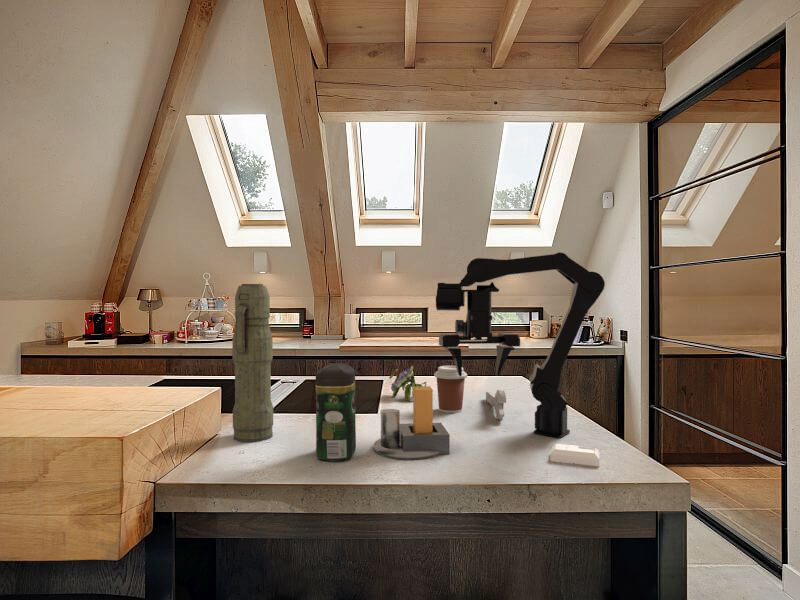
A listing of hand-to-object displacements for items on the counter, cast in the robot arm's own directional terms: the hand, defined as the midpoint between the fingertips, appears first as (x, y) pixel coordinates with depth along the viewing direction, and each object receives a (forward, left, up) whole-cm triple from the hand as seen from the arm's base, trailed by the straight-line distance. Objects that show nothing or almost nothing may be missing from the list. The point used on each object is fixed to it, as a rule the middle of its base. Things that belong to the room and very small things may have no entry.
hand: (478, 375), depth 123 cm
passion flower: (+36, -18, -13) cm, 42 cm away
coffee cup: (+16, -12, -13) cm, 24 cm away
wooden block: (+2, +20, -12) cm, 24 cm away
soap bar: (-26, +7, -14) cm, 30 cm away
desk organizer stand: (+4, +22, -13) cm, 26 cm away
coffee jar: (+13, +35, -13) cm, 40 cm away
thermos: (+37, +38, -13) cm, 55 cm away
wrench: (+6, -19, -14) cm, 24 cm away
